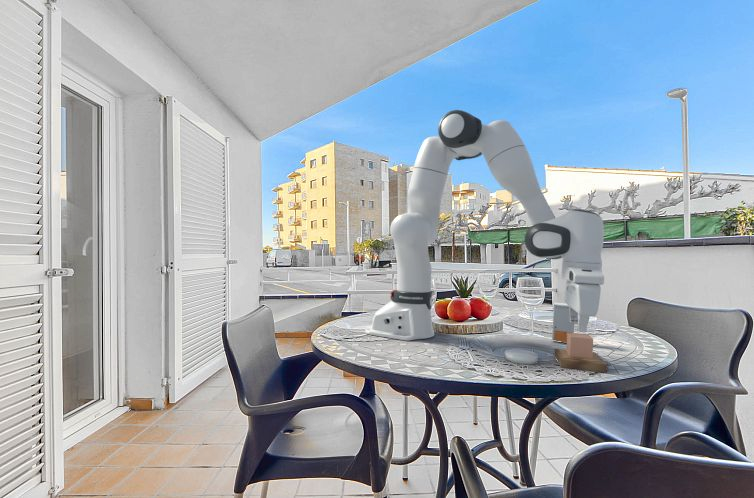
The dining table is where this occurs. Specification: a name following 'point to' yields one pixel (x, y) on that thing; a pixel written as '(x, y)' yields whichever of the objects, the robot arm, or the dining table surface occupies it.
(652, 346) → the dining table surface
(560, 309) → the skincare box
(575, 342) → the terracotta cube
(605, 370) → the walnut coaster
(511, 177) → the robot arm
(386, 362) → the dining table surface
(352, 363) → the dining table surface
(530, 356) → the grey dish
